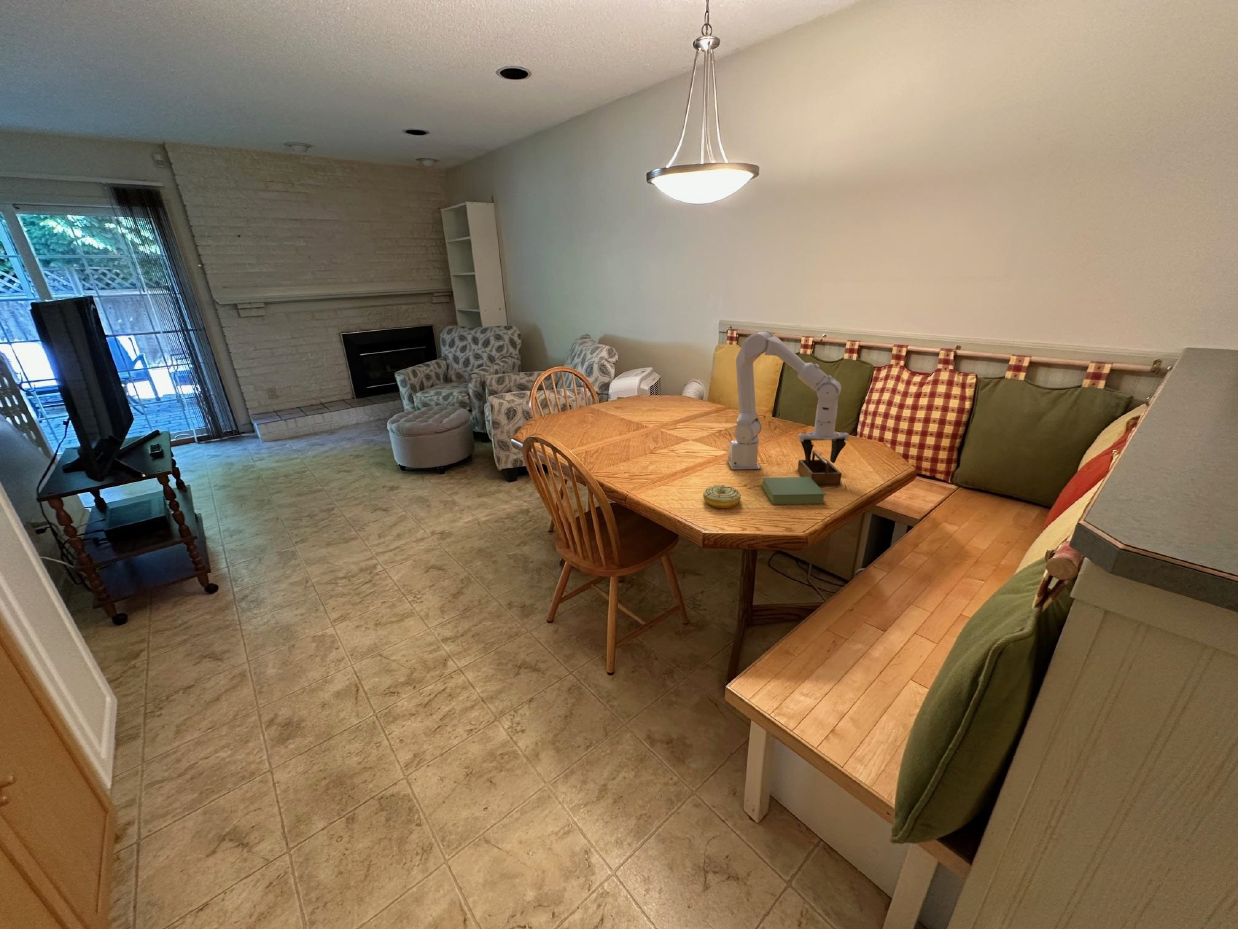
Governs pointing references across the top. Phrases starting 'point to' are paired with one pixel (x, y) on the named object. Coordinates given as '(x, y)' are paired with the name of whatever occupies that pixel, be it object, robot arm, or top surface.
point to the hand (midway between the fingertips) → (820, 462)
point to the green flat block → (792, 490)
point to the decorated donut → (721, 496)
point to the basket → (820, 471)
